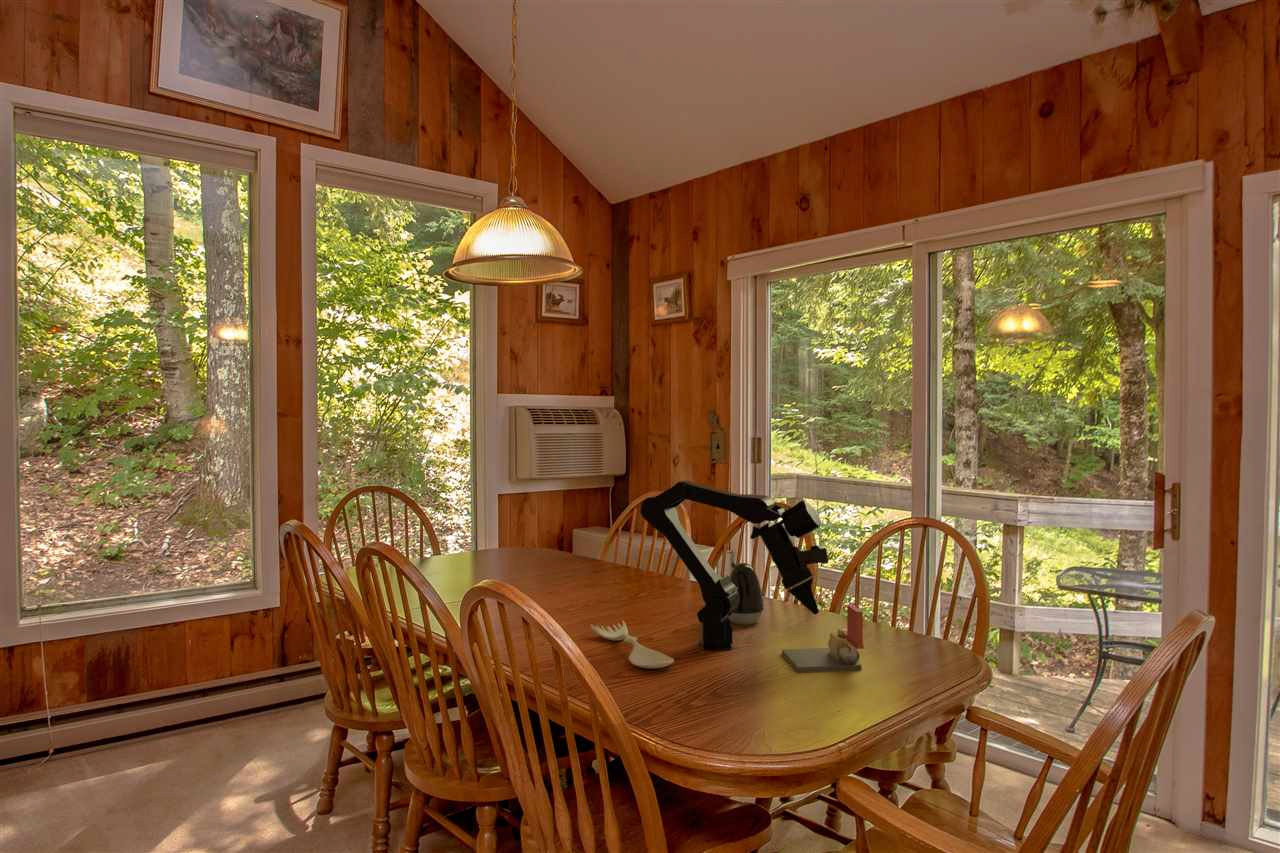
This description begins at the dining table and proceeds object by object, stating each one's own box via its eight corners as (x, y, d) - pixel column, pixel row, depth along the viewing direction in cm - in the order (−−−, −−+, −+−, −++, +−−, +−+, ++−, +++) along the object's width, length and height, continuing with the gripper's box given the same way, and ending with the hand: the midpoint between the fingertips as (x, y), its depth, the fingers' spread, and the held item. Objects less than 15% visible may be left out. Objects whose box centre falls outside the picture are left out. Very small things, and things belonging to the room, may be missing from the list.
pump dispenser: (748, 615, 206) (748, 557, 206) (771, 624, 197) (771, 564, 196) (715, 619, 202) (715, 561, 201) (737, 629, 192) (737, 568, 192)
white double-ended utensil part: (623, 632, 191) (623, 618, 191) (681, 672, 162) (681, 655, 162) (589, 636, 188) (589, 622, 188) (641, 678, 158) (641, 661, 158)
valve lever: (836, 633, 168) (836, 599, 167) (846, 633, 168) (846, 598, 168) (854, 649, 156) (854, 612, 156) (866, 649, 157) (866, 612, 156)
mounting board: (798, 672, 161) (798, 667, 161) (781, 654, 173) (781, 649, 173) (861, 669, 162) (861, 664, 162) (840, 651, 174) (840, 647, 174)
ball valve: (840, 665, 162) (840, 641, 162) (826, 652, 171) (826, 629, 171) (861, 664, 162) (861, 641, 162) (845, 651, 171) (845, 628, 171)
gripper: (813, 528, 162) (852, 597, 158) (814, 532, 180) (848, 594, 176) (766, 553, 163) (803, 622, 159) (771, 555, 181) (804, 617, 177)
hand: (816, 613), depth 168 cm, fingers closed
